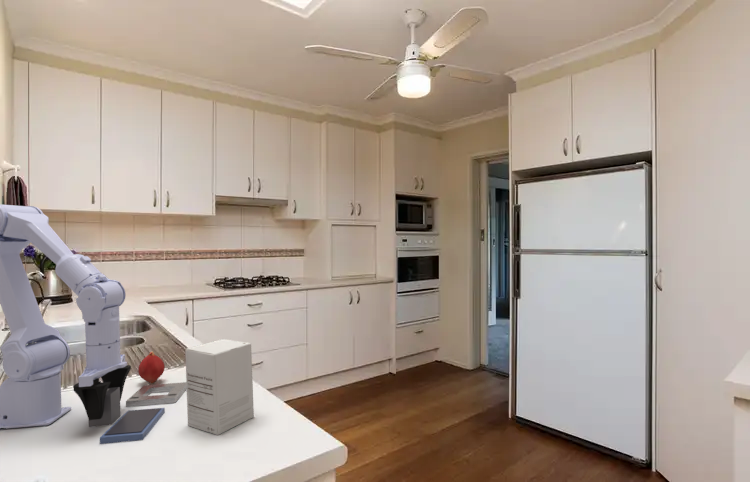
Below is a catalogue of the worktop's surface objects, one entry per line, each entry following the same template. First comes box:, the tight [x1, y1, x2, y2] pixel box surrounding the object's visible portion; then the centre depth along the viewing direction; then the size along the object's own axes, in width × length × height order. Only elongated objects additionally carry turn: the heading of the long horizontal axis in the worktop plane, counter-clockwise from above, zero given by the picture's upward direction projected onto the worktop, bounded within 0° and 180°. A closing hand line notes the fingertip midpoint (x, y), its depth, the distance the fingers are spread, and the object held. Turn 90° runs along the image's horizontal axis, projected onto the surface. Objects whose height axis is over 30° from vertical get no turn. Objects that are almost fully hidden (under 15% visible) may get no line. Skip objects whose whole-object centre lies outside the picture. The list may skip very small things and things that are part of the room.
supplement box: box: [184, 338, 255, 436], centre depth 81 cm, size 9×9×15 cm
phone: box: [99, 407, 166, 445], centre depth 80 cm, size 7×12×2 cm, turn 10°
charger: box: [88, 387, 122, 428], centre depth 82 cm, size 4×4×6 cm
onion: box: [137, 351, 165, 385], centre depth 104 cm, size 6×6×8 cm
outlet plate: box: [125, 381, 187, 408], centre depth 95 cm, size 10×10×1 cm
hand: (105, 410), depth 82 cm, fingers open, 7 cm apart
